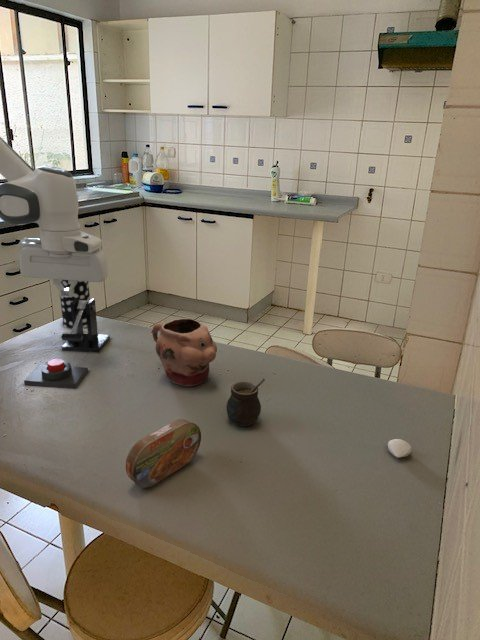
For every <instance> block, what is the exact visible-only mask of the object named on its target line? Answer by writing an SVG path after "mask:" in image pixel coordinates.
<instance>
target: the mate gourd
mask: <svg viewBox="0 0 480 640" xmlns="http://www.w3.org/2000/svg"><path fill="white" fill-rule="evenodd" d="M265 381H266V379H265V378H263V379H262V380H260V381H259V382H258V383H254V382H252V381H247V380H242V381H241V380H240V381H236V382H234V383H233V384H231V387H230V396H229V398H228V399H227V402H226V405H225V406H226V407H225V409H226V415H227V418H228V419H229V420H230V422H232V424H234V425H236V426H239V427H248V426H251V425H253V424H255V423H256V422H257V421H258V419H259V417H260V415H261V411H262V405H261V401H260V399H259V396H258V395H259V387H260V386H261V385H262V384H263V383H264V382H265Z"/></svg>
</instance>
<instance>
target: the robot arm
mask: <svg viewBox="0 0 480 640" xmlns="http://www.w3.org/2000/svg"><path fill="white" fill-rule="evenodd" d="M0 175H1V176H2V177H3V178H4V179H5V180H6V182H4V183H0V220H2V221H3V222H4V223H6V224H8V225H14V226H15V225H16V226H23V225H27V224H31V223H35V224H37V225H38V227H39V228H38V229H39V235H40V238H30V237H24V238H23V239H21V240H20V241H19V242H18V252H19V270H20V274H21V275H22V276H23V277H24V278H31V279H47V280H52V283H53V285H54V286H55V288H56V289H57V290H58V296H59V298H60V297H73V296H74V290H73V289H74V287H75V286H76V284H77V281H88V282H89V283H102V282H103V281H105V280H106V279H107V278H108V276H109V268H108V262H107V261H108V260H107V256H106V254H105V252H104V250H103V249H101V248H102V246H103V240H102V239H101V238H100V237H98V236H95V235H92V234H90V233H87V232H84V231H82V230H81V223H80V221H79V209H80V207H79V206H80V203H79V196H78V189H77V185H76V180H75V178H74V176H73V174H72V173H71V172H70V171H68V170H66V169H64V168H61V167H57V166H50V165H40V166H38V167H36V168H35V169H34V168H33V167H32V166H31V165H29V163H28V162H27V161H26V160H24V159H23V157H22V156H20V154H19V153H18V152H17V151H16V150H14V148H13V147H11V146H10V144H8V143H7V141H5V139H3V138H2V136H0ZM62 280H68V284H71V285H70V287H69V288H64V286H63V285H62V283H61V281H62Z"/></svg>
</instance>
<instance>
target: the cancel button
mask: <svg viewBox="0 0 480 640" xmlns="http://www.w3.org/2000/svg"><path fill="white" fill-rule="evenodd" d="M64 361H65V360H64V359H62V358H51V359H50V360H48V361H47V363H46V364H47V365H48V370H49V371H54V372H55V371H60V370H62V369H64Z"/></svg>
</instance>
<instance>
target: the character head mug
mask: <svg viewBox="0 0 480 640" xmlns="http://www.w3.org/2000/svg"><path fill="white" fill-rule="evenodd" d="M151 333H152V334H151V335H152V338H153V341H154V342H155V352H156V354H157V357H158V358H159V361H160V362H161V365H162V367H163V369H164V372H165V374H166V377H167V379H168V380H169V381H170V382H172V383H173V384H176V385H179V386H184V387H194V386H197V385H200V384H202V383H204V382H205V381H206V380H207V379H208V378H209V374H210V363H212V362H213V361H214V360H215V359H216V357H217V352H218V347H217V344H216V342H215V341H214V339H213V338H212V335H211V333H210V331H209V329H208V326H207V325H205V324H203V323H202V322H200V321H198V320H195V319H193V318H185V317H184V318H176V319H172V320H168V321H166V322H165V323H161V322H157V323H155V324H154V325H153V326H152V329H151ZM158 333H159V334H158ZM158 335H159V336H158Z"/></svg>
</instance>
